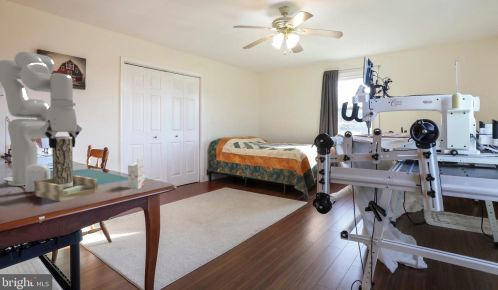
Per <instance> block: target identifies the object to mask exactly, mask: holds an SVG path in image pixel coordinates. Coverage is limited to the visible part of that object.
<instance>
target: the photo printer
mask: <svg viewBox="0 0 498 290" xmlns="http://www.w3.org/2000/svg"><path fill="white" fill-rule="evenodd" d="M51 170H52V169H51V168H50V167H49V166H48V165H45V164H40V163H37V164H34V165H29V166H27V167H26V168H25V186H24V190H25V192H27V193H32V192H34V181H38V180H44V179H50V178H52V176H51V175H52V171H51Z"/></svg>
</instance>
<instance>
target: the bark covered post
mask: <svg viewBox="0 0 498 290" xmlns="http://www.w3.org/2000/svg"><path fill="white" fill-rule="evenodd" d="M54 138H56V148H51V149H52V178H53V184H57V185H62V186H63V190H65V189H68V188H71V187H73V175H74V171H73V170H74V169H73V161H74V159H73V147H72V137H70V136H62V135H61V136H60V135H59V136H58V135H57V136H55V137H54Z"/></svg>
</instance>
